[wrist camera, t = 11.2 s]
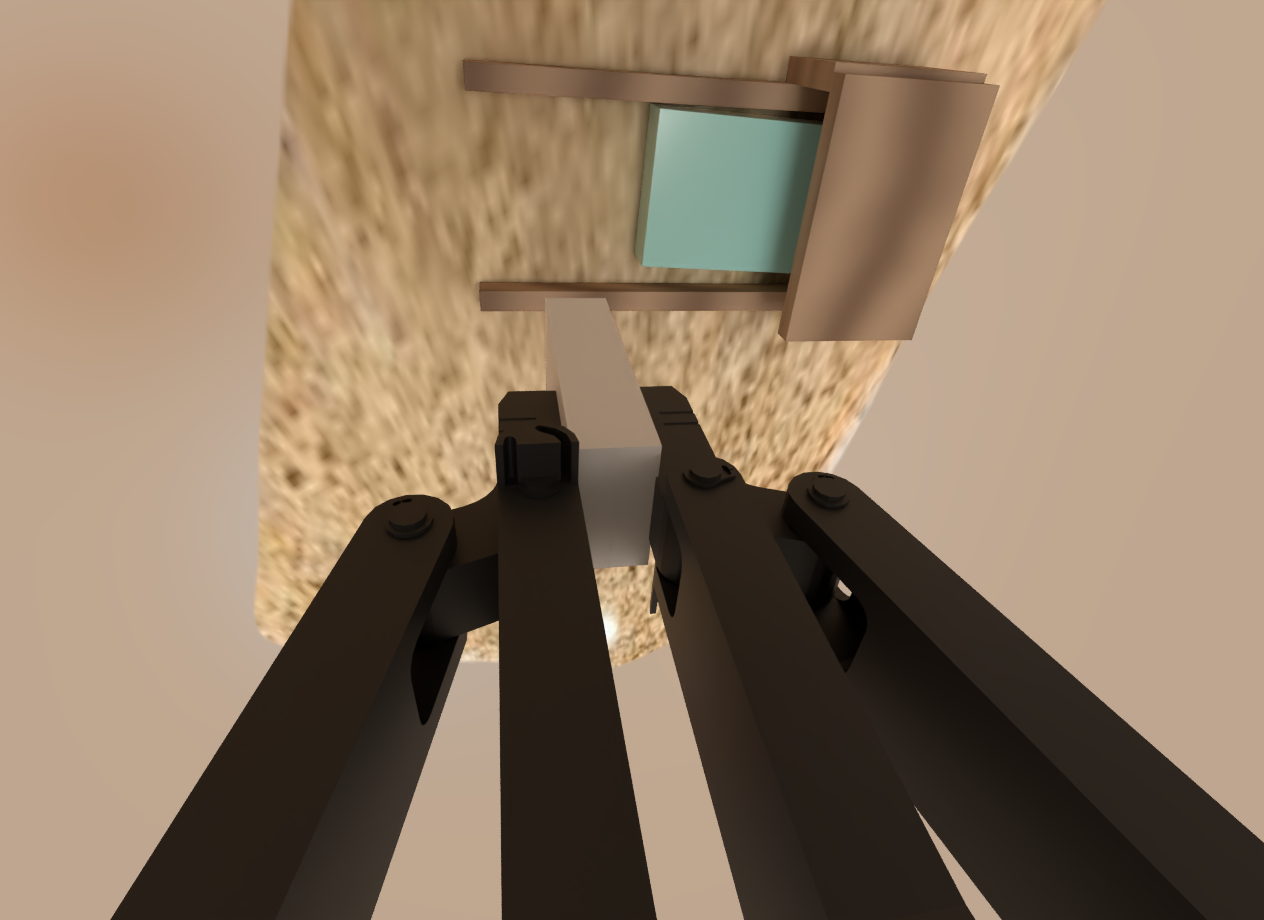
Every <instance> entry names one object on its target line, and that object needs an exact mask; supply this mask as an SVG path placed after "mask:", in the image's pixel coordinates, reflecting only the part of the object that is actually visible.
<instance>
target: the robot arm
mask: <svg viewBox="0 0 1264 920" xmlns="http://www.w3.org/2000/svg"><path fill="white" fill-rule="evenodd" d="M545 346H546V391H513V392H508V393H507V394H506V395H505V397H504V398H503V399H502V400H501V402H500V403H499V404H498V419H499V436H498V437H497V440H496V443H495V457H496V472H497V484H496V486H495V487H494V489H493V490H492V491H491V492H490V493H489V494H488V495H487V496H485V497H484V498H482V499H480V500H479V501H477V502H475V503H472V504H469V505H466V506H463V507H460V508H456V509H452V510H451V508H450V506H449V505H448V504H447V503H445V502H443V501H442V500H440V499H439V498H436V497H431V496H427V495H405V496H401V497H397V498H393V499H390V500H388V501H386V502H384V503H382V504H380V505H379V506H377V507H375V508H374V509H373V510H372V511H371V512H370V513H369V514H368V515H367V516H366V517H365V519H364V520H363V522H362V523H361V525H360V527H359V528H358V530H357V531H356V533H355V534H354V536H353V538H352V539H351V541H350V542H349V544H348V546H347V547H346V549H345V550H344V552H343V553H342V555H341V557H340V558H339V560H338V561H337V563H336V564H335V566H334V568H333V569H332V571H331V572H330V574H329V575H328V577H327V579H326V580H325V582H324V583H323V585H322V587H321V588H320V590H319V591H318V593H317V594H316V596H315V598H314V599H313V601H312V602H311V604H310V605H309V607H308V609H307V610H306V612H305V613H304V615H303V617H302V618H301V620H300V621H299V623H298V624H297V626H296V628H295V629H294V631H293V632H292V634H291V635H290V637H289V639H288V640H287V642H286V643H285V645H284V646H283V648H282V650H281V651H280V653H279V654H278V656H277V658H276V659H275V661H274V662H273V664H272V665H271V667H270V669H269V670H268V672H267V673H266V675H265V676H264V678H263V680H262V681H261V683H260V684H259V686H258V688H257V689H256V691H255V692H254V694H253V695H252V697H251V699H250V700H249V702H248V704H247V705H246V707H245V708H244V710H243V712H242V713H241V714H240V716H239V718H238V719H237V721H236V723H235V724H234V725H233V727H232V729H231V730H230V732H229V733H228V735H227V736H226V738H225V740H224V741H223V743H222V745H221V746H220V747H219V749H218V751H217V752H216V754H215V755H214V757H213V759H212V760H211V762H210V763H209V765H208V766H207V768H206V770H205V771H204V773H203V774H202V776H201V778H200V779H199V781H198V782H197V784H196V785H195V787H194V789H193V790H192V792H191V793H190V795H189V796H188V798H187V800H186V801H185V803H184V804H183V806H182V807H181V809H180V811H179V812H178V814H177V815H176V817H175V819H174V820H173V822H172V823H171V825H170V827H169V828H168V830H167V831H166V833H165V834H164V836H163V837H162V839H161V841H160V842H159V844H158V845H157V847H156V849H155V850H154V852H153V854H152V855H151V856H150V858H149V860H148V861H147V863H146V864H145V866H144V867H143V869H142V871H141V872H140V874H139V875H138V877H137V879H136V880H135V882H134V883H133V885H132V886H131V888H130V890H129V891H128V893H127V894H126V896H125V897H124V899H123V901H122V902H121V904H120V905H119V907H118V908H117V910H116V912H115V913H114V915H113V916H112V918H111V920H371V917H372V914H373V912H374V909H375V906H376V903H377V900H378V897H379V894H380V891H381V888H382V885H383V882H384V880H385V876H386V874H387V871H388V868H389V865H390V862H391V859H392V856H393V853H394V850H395V848H396V845H397V842H398V839H399V836H400V833H401V830H402V827H403V824H404V821H405V818H406V815H407V812H408V810H409V807H410V804H411V801H412V798H413V795H414V792H415V789H416V786H417V783H418V780H419V778H420V775H421V771H422V769H423V766H424V763H425V760H426V757H427V754H428V751H429V748H430V745H431V743H432V740H433V737H434V734H435V731H436V728H437V725H438V722H439V719H440V716H441V713H442V710H443V707H444V704H445V702H446V698H447V696H448V693H449V690H450V687H451V684H452V681H453V678H454V675H455V672H456V670H457V667H458V664H459V661H460V658H461V655H462V652H463V649H464V646H465V643H466V641H467V632H469V631H472V630H475V629H477V628H480V627H483V626H485V625H488V624H491V623H494V622H496V621H499V681H500V682H499V686H500V779H501V780H500V782H501V783H500V784H501V785H500V786H501V877H502V878H501V886H502V920H657V918H656V912H655V907H654V901H653V895H652V890H651V884H650V879H649V873H648V868H647V862H646V856H645V851H644V846H643V840H642V834H641V829H640V824H639V818H638V813H637V806H636V801H635V795H634V790H633V784H632V779H631V773H630V768H629V762H628V757H627V751H626V745H625V740H624V734H623V729H622V723H621V718H620V712H619V707H618V701H617V696H616V690H615V685H614V679H613V673H612V668H611V662H610V657H609V651H608V645H607V640H606V634H605V629H604V623H603V618H602V612H601V607H600V601H599V595H598V590H597V584H596V579H595V573H594V569H598V568H610V567H623V566H636V565H648V559H649V551H650V545H651V548H652V551H653V555H654V558H655V568H654V576H653V584H652V592H651V600H650V614H653V613H656V608H657V602H658V603H659V607H660V611H661V614H662V618H663V622H664V626H665V629H666V633H667V637H668V640H669V644H670V648H671V651H672V655H673V659H674V662H675V666H676V670H677V673H678V677H679V681H680V685H681V688H682V691H683V696H684V699H685V703H686V707H687V710H688V714H689V718H690V721H691V725H692V728H693V732H694V736H695V740H696V744H697V747H698V751H699V755H700V758H701V762H702V766H703V769H704V773H705V777H706V780H707V784H708V788H709V791H710V795H711V799H712V803H713V806H714V810H715V814H716V817H717V821H718V825H719V828H720V832H721V836H722V840H723V843H724V847H725V851H726V854H727V858H728V862H729V865H730V869H731V872H732V876H733V880H734V883H735V887H736V891H737V895H738V899H739V902H740V906H741V910H742V913H743V916H744V920H975V918H974V917H973V915H972V914H971V912H970V911H969V909H968V907H967V906H966V904H965V902H964V900H963V898H962V896H961V894H960V893H959V891H958V889H957V887H956V885H955V883H954V881H953V879H952V877H951V875H950V873H949V871H948V870H947V868H946V866H945V864H944V862H943V860H942V858H941V856H940V854H939V852H938V850H937V849H936V847H935V845H934V843H933V841H932V839H931V837H930V835H929V833H928V831H927V829H926V827H925V826H924V824H923V822H922V820H921V818H920V816H919V814H918V812H917V810H918V811H919V812H920V814H921V815H922V816H923V817H924V819H925V820H926V821H927V823H928V824H929V825H930V827H931V828H932V829H933V831H934V832H935V833H936V834H937V836H938V837H939V838H940V840H941V841H942V842H943V843H944V845H945V846H946V847H947V849H948V850H949V851H950V853H951V854H952V855H953V857H954V858H955V859H956V860H957V862H958V863H959V864H960V866H961V867H962V868H963V870H964V871H965V872H966V874H967V875H968V876H969V877H970V879H971V880H972V881H973V883H974V884H975V885H976V887H977V888H978V889H979V891H980V892H981V893H982V895H983V896H984V897H985V898H986V900H987V901H988V902H989V904H990V905H991V906H992V908H993V909H994V910H995V911H996V913H997V914H998V915H999V917H1000V918H1001V919H1002V920H1264V843H1263V842H1262V841H1261V840H1260V839H1259V838H1258V837H1257V836H1255V835H1254V834H1253V833H1252V832H1251V831H1250V830H1249V829H1247V828H1246V827H1245V826H1244V825H1243V824H1242V823H1241V822H1239V821H1238V820H1237V819H1236V818H1235V817H1234V816H1233V815H1231V814H1230V813H1229V812H1228V811H1227V810H1226V809H1225V808H1223V807H1222V806H1221V805H1220V804H1219V803H1218V802H1217V801H1215V800H1214V799H1213V798H1212V797H1211V796H1210V795H1209V794H1207V793H1206V792H1205V791H1204V790H1203V789H1202V788H1200V787H1199V786H1198V785H1197V784H1196V783H1195V782H1194V781H1193V780H1191V779H1190V778H1189V777H1188V776H1187V775H1186V774H1185V773H1184V772H1182V771H1181V770H1180V769H1179V768H1178V767H1177V766H1175V765H1174V764H1173V763H1172V762H1171V761H1169V759H1168V758H1166V757H1165V756H1164V755H1163V754H1162V753H1161V752H1160V751H1158V750H1157V749H1156V748H1155V747H1154V746H1153V745H1152V744H1150V743H1149V742H1148V741H1147V740H1146V739H1145V738H1143V737H1142V736H1141V735H1140V734H1139V733H1138V732H1137V731H1136V730H1134V729H1133V728H1132V727H1131V726H1130V725H1129V724H1128V723H1126V722H1125V721H1124V720H1123V719H1122V718H1121V717H1119V716H1118V715H1117V714H1116V713H1115V712H1114V711H1113V710H1112V709H1110V708H1109V707H1108V706H1107V705H1106V704H1105V703H1104V702H1102V701H1101V700H1100V699H1099V698H1098V697H1097V696H1096V695H1094V694H1093V693H1092V692H1091V691H1090V690H1089V689H1087V688H1086V687H1085V686H1084V685H1083V684H1082V683H1081V682H1080V681H1078V680H1077V679H1076V678H1075V677H1074V676H1073V675H1072V674H1070V673H1069V672H1068V671H1067V670H1066V669H1064V668H1063V667H1062V666H1061V665H1060V664H1059V663H1058V662H1057V661H1055V660H1054V659H1053V658H1052V657H1051V656H1050V655H1049V654H1048V653H1046V652H1045V651H1044V650H1043V649H1042V648H1041V647H1040V646H1038V645H1037V644H1036V643H1035V642H1034V641H1033V640H1032V639H1030V638H1029V637H1028V636H1027V635H1026V634H1025V633H1024V632H1022V631H1021V630H1020V629H1019V628H1018V627H1017V626H1016V625H1014V624H1013V623H1012V622H1011V621H1010V620H1009V619H1008V618H1006V617H1005V616H1004V615H1003V614H1002V613H1001V612H1000V611H998V610H997V609H996V608H995V607H994V606H993V605H991V603H989V602H988V601H987V600H986V599H985V598H984V597H983V596H981V595H980V594H979V593H978V592H977V591H976V590H975V589H973V588H972V587H971V586H970V585H969V584H967V582H965V581H964V580H963V579H962V578H961V577H960V576H958V575H957V574H956V573H955V572H954V571H953V570H952V569H950V568H949V567H948V566H947V565H946V564H945V563H944V562H943V561H941V560H940V559H939V558H938V557H937V556H935V554H933V553H932V552H931V551H930V550H929V549H928V548H927V547H925V546H924V545H923V544H922V543H921V542H920V541H918V540H917V539H916V538H915V537H914V536H913V535H912V534H911V533H909V532H908V531H907V530H906V529H905V528H904V527H903V526H901V525H900V524H899V523H898V522H897V521H896V520H895V519H893V518H892V517H891V516H890V515H889V514H888V513H887V512H885V511H884V510H883V509H882V508H881V507H880V506H879V505H877V504H876V503H875V502H874V501H873V500H871V498H869V497H868V496H867V495H866V494H865V493H864V492H862V491H861V490H860V489H859V488H858V487H857V486H855V485H854V484H852V483H851V482H849V481H847V480H846V479H844V478H841V477H838V476H836V475H833V474H829V473H822V472H807V473H802V474H800V475H798V476H795V477H794V478H793V479H792V480H791V482H790V483H789V485H788V489H787V492H785V491H779V490H773V489H767V488H761V487H756V486H752V485H749V484H746V483H745V481H744V479H743V477H742V476H741V474H740V473H739V472H738V470H737V469H736V468H735V467H734V466H733V465H731V464H730V463H728V462H726V461H725V460H723V459H720V458H716V457H715V455H714V453H713V451H712V449H711V447H710V445H709V443H708V441H707V439H706V436H705V434H704V432H703V430H702V428H701V426H700V424H698V420H697V418H696V416H695V414H693V410H692V408H691V406H690V404H689V402H688V400H687V398H686V397H685V396H684V395H682V394H681V393H680V392H679V391H677V390H676V389H675V388H673V387H672V386H653V387H639V384H638V382H637V379H636V376H635V374H634V371H633V369H632V366H631V363H630V361H629V358H628V355H627V353H626V350H625V348H624V345H623V342H622V340H621V337H620V335H619V332H618V329H617V327H616V324H615V321H614V319H613V316H612V314H611V311H610V308H609V306H608V303H607V300H606V298H545ZM839 580H841V581H842V582H843V583H844V584H845V586H846V587H847V588H848V589H849V590H850V591H851V592H852V594H851V596H850V597H849V596H847V595H846V594H844V593H843V592H842V591H841V590H840V589H839V587H838V583H839ZM915 807H916V808H917V810H916V808H915Z"/></svg>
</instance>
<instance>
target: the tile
mask: <svg viewBox="0 0 1264 920" xmlns="http://www.w3.org/2000/svg"><path fill="white" fill-rule="evenodd" d="M822 126H823V121H815V120H805V119H795V118H786V117H776V116H767V115H757V114H748V113H738V112H728V111H719V110H709V109H700V108H690V107H681V106H671V105H661V104H652V103H650V112H649V121H648V131H647V140H646V150H645V159H644V168H643V178H642V187H641V197H640V206H639V216H638V225H637V235H636V244H635V255H636V257H637V259H638V260H639V262H640V264H641V265H642V266H647V267H668V268H689V269H710V270H731V271H753V272H774V273H791V270H792V265H793V261H794V256H795V251H796V247H797V242H798V237H799V233H800V228H801V223H802V219H803V214H804V209H805V205H806V200H807V195H808V191H809V186H810V181H811V177H812V172H813V167H814V163H815V158H816V153H817V149H818V144H819V140H820V135H821V130H822Z"/></svg>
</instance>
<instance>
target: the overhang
mask: <svg viewBox="0 0 1264 920" xmlns="http://www.w3.org/2000/svg"><path fill="white" fill-rule="evenodd" d="M463 69H464V83H465V90H466V91H482V92H498V93H514V94H530V95H546V96H562V97H578V98H594V99H610V100H626V101H642V102H659V103H675V104H691V105H707V106H723V107H739V108H755V109H771V110H787V111H803V112H819V113H825V116H824V121H823V126H822V130H821V135H820V140H819V144H818V149H817V153H816V158H815V163H814V167H813V172H812V177H811V181H810V186H809V191H808V195H807V200H806V205H805V209H804V214H803V219H802V223H801V228H800V233H799V237H798V242H797V247H796V251H795V256H794V261H793V265H792V270H791V274H790V279H789V284H656V283H492V282H480V289H479V292H480V306H481V311H545V298H606V300H607V303H608V306H609V308H610V311H772V310H783V312H782V316H781V321H780V326H779V330H778V334H779V335H780V336H781V337H782V338H783V339H784V340H785V341H864V340H912V337H913V334H914V332H915V329H916V326H917V323H918V320H919V317H920V314H921V312H922V309H923V306H924V303H925V300H926V297H927V294H928V291H929V288H930V286H931V283H932V280H933V277H934V274H935V271H936V268H937V265H938V263H939V260H940V257H941V254H942V251H943V248H944V245H945V242H946V239H947V237H948V234H949V231H950V228H951V225H952V222H953V219H954V216H955V214H956V211H957V208H958V205H959V202H960V199H961V196H962V193H963V190H964V188H965V185H966V182H967V179H968V176H969V173H970V170H971V167H972V165H973V162H974V159H975V156H976V153H977V150H978V147H979V144H980V141H981V139H982V136H983V133H984V130H985V127H986V124H987V121H988V118H989V116H990V113H991V110H992V107H993V104H994V101H995V98H996V95H997V92H998V90H999V87H1000V86H999V85H992V84H984V82H985V79H986V76H987V74H983V73H974V72H965V71H956V70H947V69H938V68H929V67H918V66H906V65H893V64H881V63H868V62H856V61H843V60H831V59H818V58H805V57H793V56H790V62H789V67H788V73H787V78H786V82H772V81H758V80H744V79H730V78H716V77H702V76H688V75H674V74H660V73H646V72H632V71H618V70H604V69H590V68H576V67H562V66H548V65H533V64H519V63H505V62H491V61H477V60H463Z"/></svg>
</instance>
